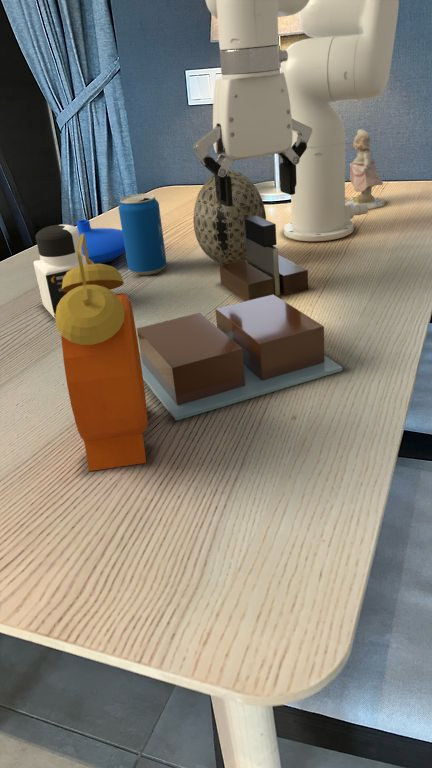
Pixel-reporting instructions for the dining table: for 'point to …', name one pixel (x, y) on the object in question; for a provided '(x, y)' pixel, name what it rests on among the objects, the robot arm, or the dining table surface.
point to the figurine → (364, 173)
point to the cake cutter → (262, 248)
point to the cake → (231, 355)
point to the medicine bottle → (56, 261)
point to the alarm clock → (102, 365)
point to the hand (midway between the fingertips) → (257, 198)
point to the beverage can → (142, 234)
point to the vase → (101, 242)
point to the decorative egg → (226, 218)
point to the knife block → (262, 279)
